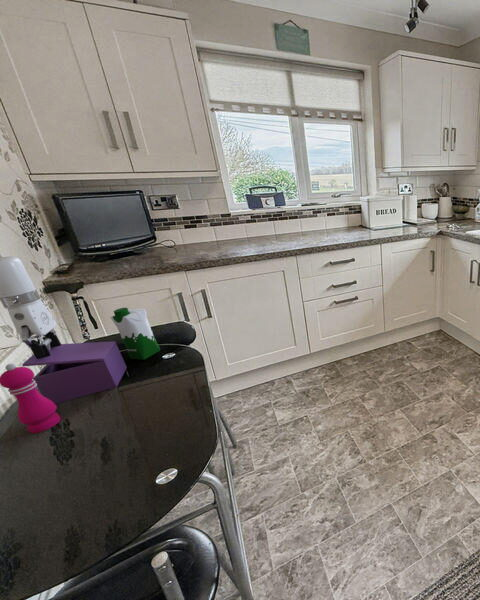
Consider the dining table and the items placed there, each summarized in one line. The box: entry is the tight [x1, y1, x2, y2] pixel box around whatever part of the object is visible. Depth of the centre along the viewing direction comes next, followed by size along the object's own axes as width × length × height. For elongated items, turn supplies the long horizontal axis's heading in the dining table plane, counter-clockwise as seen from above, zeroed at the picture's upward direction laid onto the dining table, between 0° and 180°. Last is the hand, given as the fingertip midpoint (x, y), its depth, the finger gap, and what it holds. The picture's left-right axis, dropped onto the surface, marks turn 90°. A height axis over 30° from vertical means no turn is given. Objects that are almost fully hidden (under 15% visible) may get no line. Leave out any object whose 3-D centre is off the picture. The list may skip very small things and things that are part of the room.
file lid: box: [22, 338, 117, 367], centre depth 104 cm, size 18×14×5 cm
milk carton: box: [109, 307, 161, 361], centre depth 124 cm, size 9×9×20 cm
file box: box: [33, 343, 128, 405], centre depth 108 cm, size 17×14×10 cm
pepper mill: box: [0, 363, 61, 434], centre depth 88 cm, size 7×7×20 cm
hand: (49, 351), depth 102 cm, fingers open, 7 cm apart
